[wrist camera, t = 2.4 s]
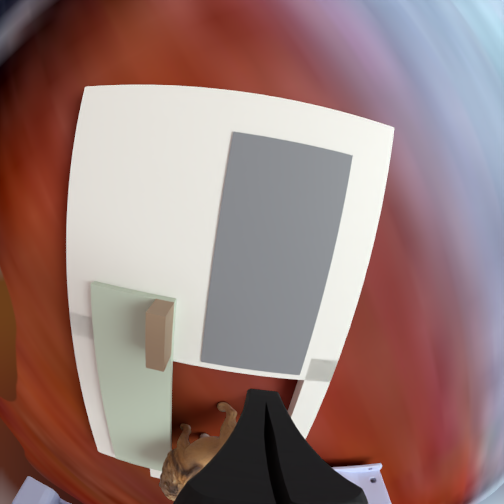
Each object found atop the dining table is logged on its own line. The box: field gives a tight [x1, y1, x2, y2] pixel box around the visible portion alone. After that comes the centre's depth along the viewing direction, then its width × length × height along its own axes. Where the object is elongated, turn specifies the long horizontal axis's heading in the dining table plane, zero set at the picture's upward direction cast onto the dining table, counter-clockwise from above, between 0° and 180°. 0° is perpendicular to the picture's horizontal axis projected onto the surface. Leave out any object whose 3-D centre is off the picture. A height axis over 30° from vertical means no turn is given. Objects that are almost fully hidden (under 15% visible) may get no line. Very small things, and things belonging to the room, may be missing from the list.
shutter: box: [91, 281, 177, 471], centre depth 19 cm, size 6×20×3 cm, turn 171°
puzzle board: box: [66, 85, 394, 478], centre depth 20 cm, size 20×36×2 cm, turn 170°
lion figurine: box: [159, 402, 237, 501], centre depth 20 cm, size 12×4×7 cm, turn 137°
